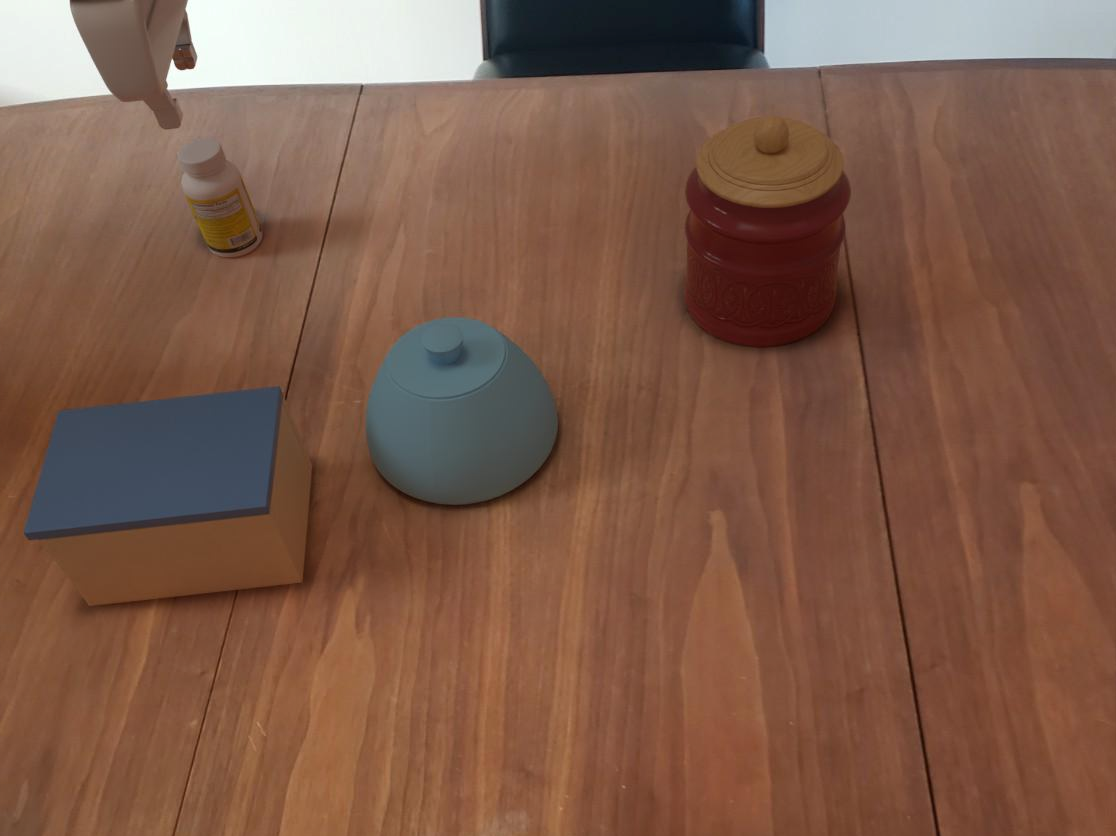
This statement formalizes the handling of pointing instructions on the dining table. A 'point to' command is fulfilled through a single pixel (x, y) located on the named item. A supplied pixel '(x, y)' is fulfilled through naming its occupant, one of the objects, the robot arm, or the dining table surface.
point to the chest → (200, 544)
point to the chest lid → (158, 463)
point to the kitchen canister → (765, 231)
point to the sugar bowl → (459, 413)
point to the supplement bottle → (218, 199)
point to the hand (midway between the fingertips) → (180, 94)
